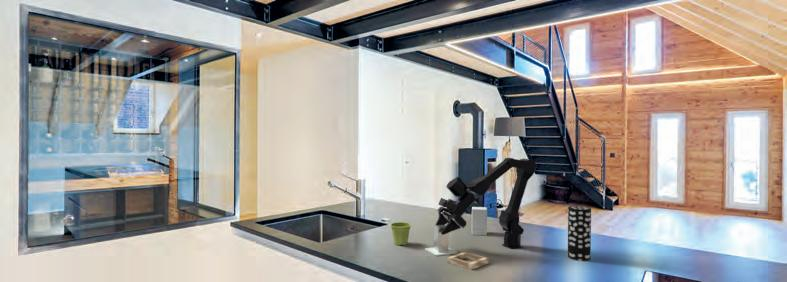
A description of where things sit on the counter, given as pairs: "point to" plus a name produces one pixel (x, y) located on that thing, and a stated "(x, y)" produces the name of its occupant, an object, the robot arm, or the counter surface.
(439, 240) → the steel cap block
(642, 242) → the counter surface
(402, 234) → the plant pot
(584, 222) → the white-spotted black cylinder
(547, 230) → the counter surface
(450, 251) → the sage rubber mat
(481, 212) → the supplement box
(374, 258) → the counter surface
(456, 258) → the oak socket frame
